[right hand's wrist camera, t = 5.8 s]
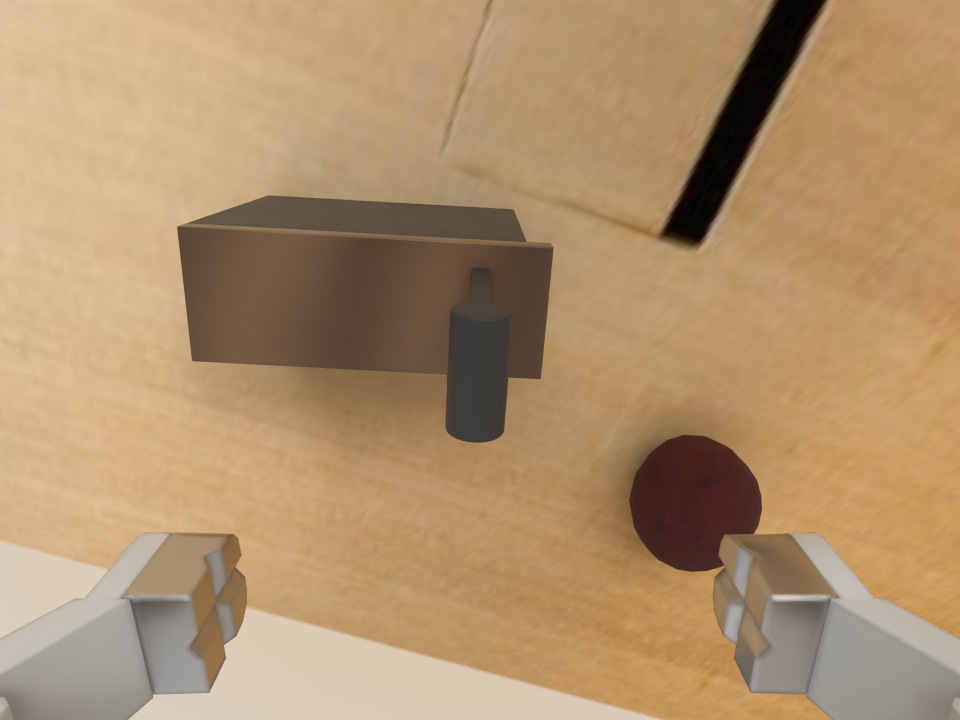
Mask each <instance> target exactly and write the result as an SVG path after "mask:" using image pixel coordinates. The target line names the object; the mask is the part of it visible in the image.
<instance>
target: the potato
mask: <svg viewBox="0 0 960 720" xmlns="http://www.w3.org/2000/svg"><path fill="white" fill-rule="evenodd" d="M629 502H630V507H631V512H632V518H633V522H634V527H635V530H636V532H637V533H638V535H639V537H640V539H641V541H642V542H643V543H644V545H645V546H646V547H647V548H648V550H649V551H650V552H651V553H652V554H653V555H654V556H655V557H656V558H657V559H658V560H660V561H662V562H663V563H665V564H667V565H669V566H671V567H674V568H676V569H679V570H685V571H690V572H694V571H708V570H711V569H715V568H719V567H721V566H723V565H724V564H723V562H722V561H721V559H720V557H719V549H720V544H721V541H722V539H723V537H724V535H731V534H754V532H755V531H756V529H757V527H758V525H759V520H760V516H761V511H762V503H761V493H760V490H759V486H758V482H757V480H756V478H755V477H754V475H753V474H752V472H751V471H750V469H749V468H748V466H747V465H746V464H745V463H744V462H743V461H742V460H741V459H740V458H739V457H738V456H737V455H736V454H735V453H734V452H733V451H732V450H731V449H730V448H728V447H726V446H725V445H723V444H721V443H718V442H716V441H714V440H712V439H709V438H707V437H705V436H692V435H682V436H679V437H676V438H673V439H670V440H667V441H665V442H664V443H663V444H661V445H660V446H659V447H657V448H656V449H655V450H653V451H652V452H651V453H650V454H649V456H648V457H647V458H646V460H645V461H644V463H643V464H642V465H641V467H640V468H639V470H638V471H637V473H636V476H635V479H634V482H633V486H632V490H631V495H630V500H629Z"/></svg>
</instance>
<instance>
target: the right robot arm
mask: <svg viewBox="0 0 960 720" xmlns="http://www.w3.org/2000/svg"><path fill="white" fill-rule="evenodd" d="M240 557H241V550H240V545H239V540H238V538H237V537H236V536H235V535H234V534H213V533H143V534H141V535H138V536H137V537H136V538H135V539H134V540H133V542H132V543H131V544H130V545H129V546H128V548H127V549H126V550H125V551H124V552H123V554H122V555H121V556H120V557H119V558H118V559H117V561H116V562H115V563H114V564H113V565H112V567H111V568H110V569H109V570H108V571H107V573H106V574H105V575H104V576H103V577H102V579H101V580H100V581H99V582H98V583H97V585H96V586H95V587H94V588H93V589H92V590H91V592H90V593H89V594H88V595H87V596H86V598H85V599H73V600H72V601H70V602H68V603H66V604H64V605H62V606H60V607H58V608H56V609H55V610H53V611H51V612H49V613H47V614H45V615H43V616H41V617H40V618H38V619H36V620H34V621H32V622H30V623H28V624H26V625H25V626H23V627H21V628H19V629H17V630H15V631H13V632H11V633H10V634H8V635H6V636H4V637H2V638H0V720H128V719H129V718H130V717H131V716H133V715H134V714H135V713H136V712H137V711H138V710H139V709H141V708H142V707H143V706H144V705H145V704H146V703H147V702H149V701H150V700H151V699H152V698H153V694H186V693H209V692H210V690H211V688H212V686H213V684H214V682H215V680H216V678H217V675H218V673H219V671H220V669H221V667H222V665H223V663H224V661H225V659H226V655H225V650H224V645H225V644H226V643H227V642H229V641H230V640H232V639H233V638H234V637H236V636H237V633H238V631H239V629H240V627H241V625H242V622H243V618H244V614H245V609H246V604H247V587H246V580H245V577H244V576H243V574H242V573H241V572H240V571H239V570H238V569H237V568H236V567H235V566H236V564H237V562H238V561H239V559H240ZM719 557H720V559H721V561H722V562H723V564H724V566H725V567H724V568H723V569H722V570H721V571H720V572H719V573H718V574H717V575H716V577H715V581H714V589H713V601H714V611H715V615H716V618H717V622H718V625H719V627H720V629H721V631H722V634H723V636H724V637H726V638H727V639H728V640H730V641H731V642H733V643H734V644H735V645H736V650H735V655H734V659H735V661H736V663H737V665H738V667H739V669H740V671H741V673H742V675H743V677H744V680H745V682H746V684H747V686H748V688H749V690H750V692H751V693H773V694H807V698H808V699H809V700H811V701H812V702H813V703H814V704H815V705H816V706H817V707H819V708H820V709H821V710H822V711H823V712H824V713H825V714H827V715H828V716H829V717H830V718H831V719H832V720H960V638H958V637H956V636H954V635H952V634H950V633H949V632H947V631H945V630H943V629H941V628H939V627H937V626H935V625H934V624H932V623H930V622H928V621H926V620H924V619H922V618H920V617H918V616H917V615H915V614H913V613H911V612H909V611H907V610H905V609H903V608H902V607H900V606H898V605H896V604H894V603H892V602H890V601H888V600H887V599H875V598H874V596H873V595H872V594H871V593H870V592H869V590H868V589H867V588H866V587H865V586H864V585H863V583H862V582H861V581H860V580H859V579H858V577H857V576H856V575H855V574H854V573H853V571H852V570H851V569H850V568H849V567H848V566H847V564H846V563H845V562H844V561H843V560H842V558H841V557H840V556H839V555H838V554H837V552H836V551H835V550H834V549H833V548H832V547H831V545H830V544H829V543H828V542H827V541H826V539H825V538H824V537H823V536H822V535H820V534H818V533H816V532H806V533H785V534H731V535H724V537H723V539H722V541H721V544H720V549H719Z"/></svg>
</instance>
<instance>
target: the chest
mask: <svg viewBox="0 0 960 720" xmlns="http://www.w3.org/2000/svg"><path fill="white" fill-rule="evenodd" d="M189 223H194V224H212V225H230V226H248V227H266V228H283V229H301V230H319V231H337V232H355V233H373V234H391V235H408V236H426V237H444V238H462V239H480V240H498V241H516V242H526V239H525V237H524V234H523V232H522V230H521V227H520V225H519V222H518V220H517V217H516V215H515V212H514V210H512V209H494V208H477V207H459V206H442V205H424V204H407V203H389V202H372V201H354V200H337V199H319V198H302V197H284V196H266V197H263V198H260V199H257V200H254V201H251V202H248V203H245V204H242V205H239V206H236V207H233V208H230V209H227V210H224V211H221V212H219V213H216V214H213V215H210V216H207V217H204V218H201V219H198V220H195V221H192V222H189Z"/></svg>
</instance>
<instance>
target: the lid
mask: <svg viewBox="0 0 960 720" xmlns="http://www.w3.org/2000/svg"><path fill="white" fill-rule="evenodd" d="M177 229H178V238H179V247H180V256H181V265H182V274H183V283H184V292H185V301H186V310H187V318H188V327H189V336H190V345H191V354H192V361H200V362H219V363H239V364H258V365H278V366H297V367H317V368H336V369H355V370H375V371H394V372H414V373H433V374H448V376H447V400H446V425H445V427H446V430H447V432H448V433H449V434H450V435H451V436H453V437H454V438H456V439H459V440H462V441H467V442H488V441H492V440H495V439H497V438H499V437H500V436H501V435H502V434H503V432H504V424H505V411H506V398H507V385H508V377H511V378H531V379H540V378H541V370H542V360H543V350H544V339H545V329H546V319H547V309H548V298H549V288H550V278H551V268H552V257H553V246H552V245H551V244H550V243H533V242H516V241H498V240H480V239H462V238H444V237H426V236H408V235H391V234H373V233H355V232H337V231H319V230H301V229H283V228H266V227H248V226H230V225H212V224H194V223H186V224H183V225H180V226H178V227H177Z"/></svg>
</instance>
